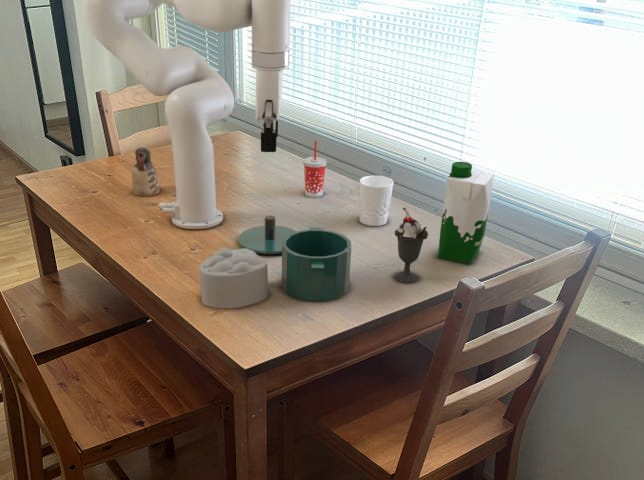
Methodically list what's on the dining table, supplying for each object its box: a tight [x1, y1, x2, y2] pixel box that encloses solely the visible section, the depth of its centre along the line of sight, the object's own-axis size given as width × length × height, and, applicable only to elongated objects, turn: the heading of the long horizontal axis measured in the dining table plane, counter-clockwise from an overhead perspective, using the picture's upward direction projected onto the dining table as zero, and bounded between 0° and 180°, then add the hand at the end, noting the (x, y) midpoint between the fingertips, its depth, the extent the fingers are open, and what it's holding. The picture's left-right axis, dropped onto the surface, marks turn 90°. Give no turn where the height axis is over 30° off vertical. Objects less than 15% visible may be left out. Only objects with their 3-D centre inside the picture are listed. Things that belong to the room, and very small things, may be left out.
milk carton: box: [437, 161, 495, 265], centre depth 153 cm, size 9×9×20 cm
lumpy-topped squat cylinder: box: [199, 247, 269, 310], centre depth 142 cm, size 10×13×9 cm
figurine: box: [131, 146, 160, 197], centre depth 190 cm, size 7×7×12 cm
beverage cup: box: [302, 140, 328, 198], centre depth 187 cm, size 6×6×14 cm
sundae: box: [393, 207, 429, 284], centre depth 146 cm, size 7×7×15 cm
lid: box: [237, 215, 298, 255], centre depth 163 cm, size 15×15×6 cm
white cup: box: [358, 175, 394, 227], centre depth 172 cm, size 8×8×10 cm
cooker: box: [281, 226, 352, 303], centre depth 145 cm, size 14×19×10 cm
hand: (269, 144), depth 154 cm, fingers open, 9 cm apart
